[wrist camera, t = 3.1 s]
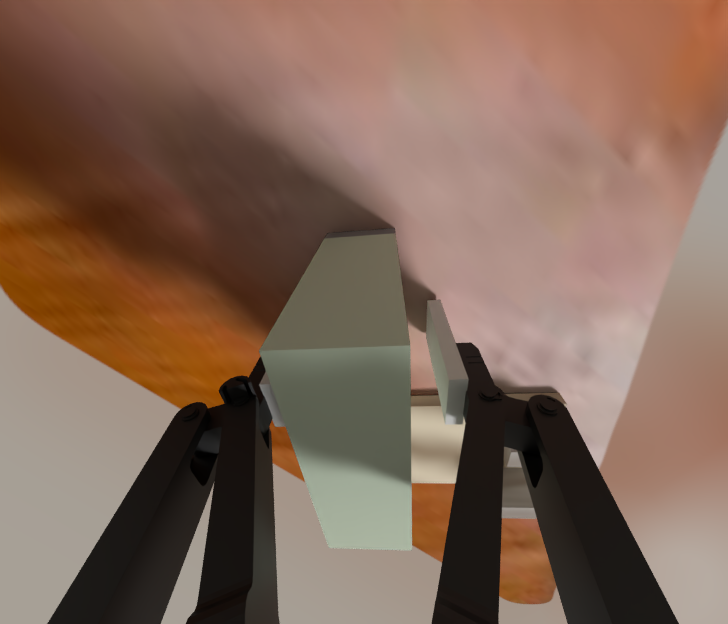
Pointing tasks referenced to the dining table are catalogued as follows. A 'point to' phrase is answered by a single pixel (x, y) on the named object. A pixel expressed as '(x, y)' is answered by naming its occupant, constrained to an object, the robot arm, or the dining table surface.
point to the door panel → (349, 389)
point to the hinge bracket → (443, 448)
